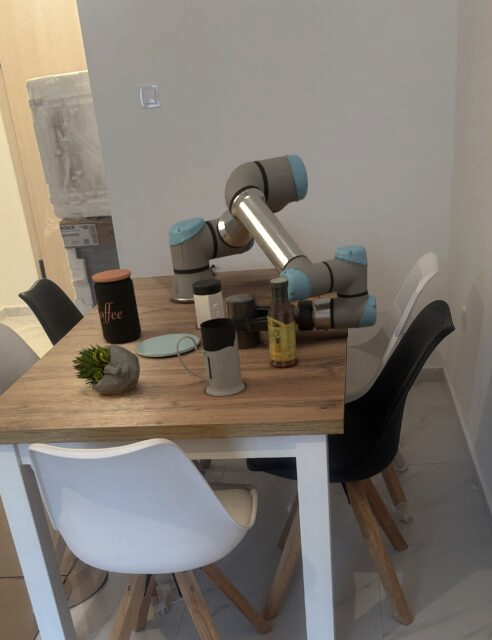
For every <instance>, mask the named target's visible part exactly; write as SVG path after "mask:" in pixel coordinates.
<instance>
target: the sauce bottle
mask: <svg viewBox="0 0 492 640" xmlns="http://www.w3.org/2000/svg"><path fill="white" fill-rule="evenodd" d="M269 287H270V289H271V290H270V291H271V301H270V304H269V305H270V308H269V312H268V331H267V332H268V345H269V347H268V348H269V359H270V362H271V365H272V366H274V367H278V368H286V367H287V368H288V367H290V366H293V365H295V364H296V362H297V341H296V337H297V336H296V324H295V320H294V309H293V306H292V305H291V304H292V302H290V301H289V300H288V279H286V278H279V277H276V278H272V279H270V281H269Z"/></svg>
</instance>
